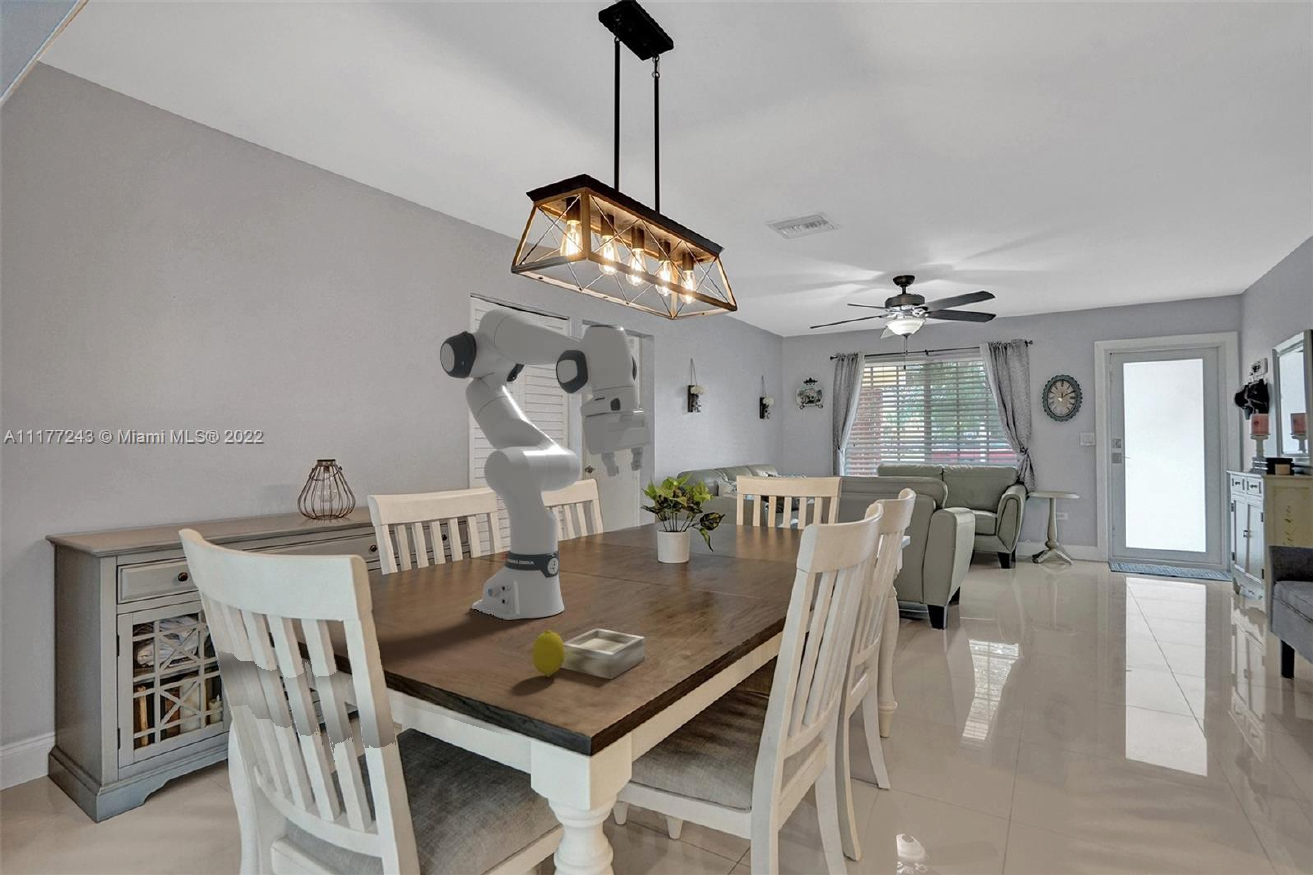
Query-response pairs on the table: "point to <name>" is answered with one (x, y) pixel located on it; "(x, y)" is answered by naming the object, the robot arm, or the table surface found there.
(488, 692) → the table surface
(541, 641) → the lemon
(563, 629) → the table surface
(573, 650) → the base
